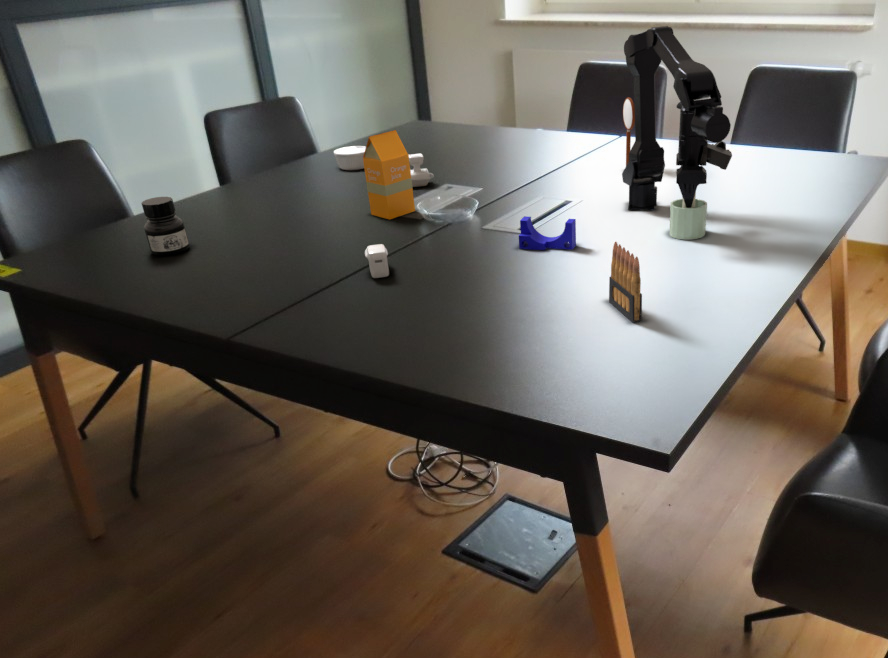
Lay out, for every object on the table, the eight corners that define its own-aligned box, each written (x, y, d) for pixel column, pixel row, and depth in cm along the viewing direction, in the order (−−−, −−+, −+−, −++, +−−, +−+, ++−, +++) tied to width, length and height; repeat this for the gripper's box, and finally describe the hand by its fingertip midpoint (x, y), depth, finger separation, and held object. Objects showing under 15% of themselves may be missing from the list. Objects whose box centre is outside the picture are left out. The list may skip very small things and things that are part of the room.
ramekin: (379, 164, 259) (377, 147, 257) (355, 172, 252) (353, 155, 249) (353, 161, 265) (350, 144, 262) (329, 169, 257) (326, 152, 254)
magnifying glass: (635, 174, 233) (637, 99, 223) (629, 174, 233) (631, 100, 222) (625, 166, 240) (627, 94, 230) (620, 167, 240) (621, 95, 230)
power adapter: (365, 262, 182) (361, 237, 179) (387, 260, 183) (384, 234, 180) (369, 280, 173) (365, 253, 170) (392, 277, 173) (388, 250, 170)
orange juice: (415, 210, 214) (406, 131, 203) (389, 219, 209) (378, 138, 198) (396, 206, 219) (386, 128, 208) (370, 214, 213) (358, 135, 203)
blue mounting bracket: (519, 248, 185) (517, 222, 181) (525, 242, 188) (524, 216, 185) (570, 252, 181) (569, 225, 178) (575, 245, 185) (575, 219, 181)
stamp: (404, 189, 232) (400, 159, 228) (402, 183, 238) (398, 154, 233) (435, 186, 233) (432, 156, 229) (433, 180, 239) (430, 151, 234)
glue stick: (681, 219, 184) (683, 184, 180) (681, 215, 187) (683, 180, 183) (694, 219, 184) (697, 184, 180) (694, 215, 186) (696, 180, 182)
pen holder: (669, 239, 184) (670, 208, 181) (669, 228, 191) (670, 198, 187) (705, 239, 183) (707, 208, 179) (704, 228, 190) (706, 198, 186)
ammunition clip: (608, 301, 156) (609, 240, 150) (617, 299, 157) (618, 239, 151) (632, 322, 148) (634, 259, 141) (641, 320, 148) (643, 257, 142)
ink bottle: (151, 259, 192) (136, 209, 185) (147, 249, 198) (132, 200, 192) (194, 251, 195) (181, 201, 189) (189, 241, 202) (175, 192, 196)
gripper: (734, 142, 166) (727, 218, 175) (728, 123, 182) (723, 193, 190) (678, 143, 168) (674, 218, 176) (677, 124, 184) (674, 193, 192)
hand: (688, 205), depth 184 cm, fingers closed on glue stick, 3 cm apart
